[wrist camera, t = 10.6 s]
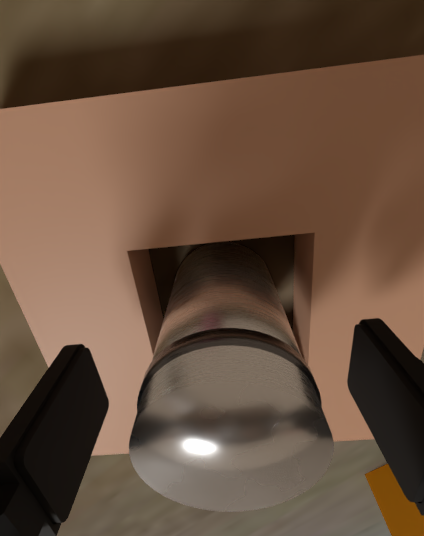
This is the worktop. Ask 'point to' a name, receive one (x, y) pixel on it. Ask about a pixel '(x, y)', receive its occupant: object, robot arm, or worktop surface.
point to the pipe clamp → (395, 504)
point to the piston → (228, 392)
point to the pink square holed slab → (219, 213)
